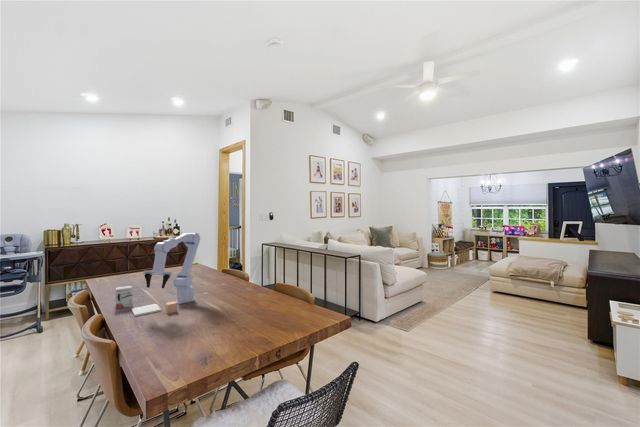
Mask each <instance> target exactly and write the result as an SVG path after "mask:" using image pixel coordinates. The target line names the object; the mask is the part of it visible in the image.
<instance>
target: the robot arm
mask: <svg viewBox="0 0 640 427" xmlns="http://www.w3.org/2000/svg"><path fill="white" fill-rule="evenodd" d="M200 241H201V236H200V233H198V232H184V233H181V235H179V236H177V237H170V236H169V237H168V239H166V240H165V239H164V240H163V241H162V242H161V241H159V242H156V244H155V245H154V247H153V250H154V255H155V256H154V259H153V260H154V261H153V266H152V270H143V271H142V272H143V273H142V274H143V276H144V279H145V283H146V288H147V289H149V288H150V287H151V286H150V285H151V281H152V277H153V275H156V276H157V275H161V276H162V284H161V289H165V286H166V284H167V282H168V281H169V279H170V277H171V276H173V271H165V268H166V267H165V266H166V261H167V255H168V253H169V252H170V251H171V250H172V249H173V248H175V247H177V246H178V244H179V243H182V242H183V243H184V245H185V246H186V247H187V252H186V253H185V254H186V255H185V257H184V261H183V264H182V267H181V271H180V272H179V273H176V276H175V277H174V279H173V286H174V287H175V289H176V299H175V300H174V301H175V302H176V303H177V305H181V304H185V303H191V302H195V296H194V295H195V293H194V292H195V290H194V287H193V285H192V284H193V277H194V276H193V274H192V273H191V271H192V267H193V264H194V260H195V258H196V253H197V251H198V248H199V244H200Z"/></svg>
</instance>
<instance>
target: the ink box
mask: <svg viewBox="0 0 640 427" xmlns="http://www.w3.org/2000/svg"><path fill="white" fill-rule="evenodd" d="M133 299H134V298H133V285H125V286H117V287H116V288H115V309H116V310H117V309H118V310H119V309H124V308H129V307H133V305H134V304H133V303H134V302H133Z"/></svg>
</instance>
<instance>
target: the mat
mask: <svg viewBox="0 0 640 427" xmlns="http://www.w3.org/2000/svg"><path fill="white" fill-rule="evenodd" d="M131 311H132V313H133V316H134V317H139V316H144V315H149V314H153V313H158V312H161V311H162V308H161V307H160V306H159V305H158V304H157V303H153V304H148V305H143V306H137V307H132V308H131Z"/></svg>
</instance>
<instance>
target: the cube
mask: <svg viewBox="0 0 640 427" xmlns="http://www.w3.org/2000/svg"><path fill="white" fill-rule="evenodd" d="M165 312H166V314H172V313H173V314H174V313H177V312H178V303H177V302H176V301H175V300H172V301H168V302H165Z"/></svg>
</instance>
